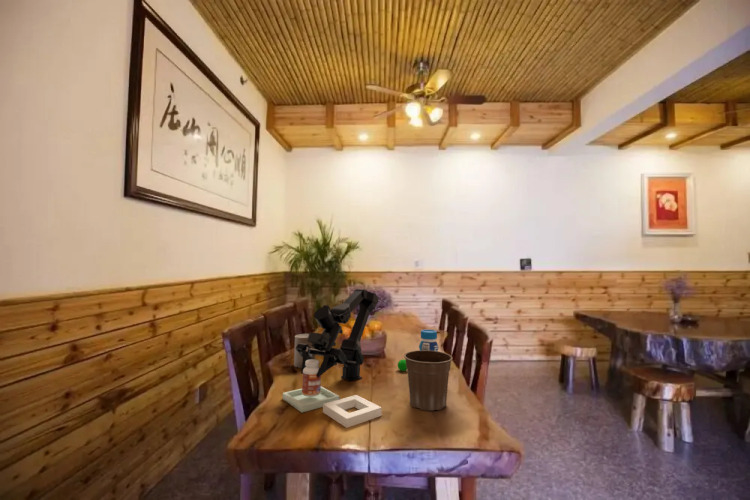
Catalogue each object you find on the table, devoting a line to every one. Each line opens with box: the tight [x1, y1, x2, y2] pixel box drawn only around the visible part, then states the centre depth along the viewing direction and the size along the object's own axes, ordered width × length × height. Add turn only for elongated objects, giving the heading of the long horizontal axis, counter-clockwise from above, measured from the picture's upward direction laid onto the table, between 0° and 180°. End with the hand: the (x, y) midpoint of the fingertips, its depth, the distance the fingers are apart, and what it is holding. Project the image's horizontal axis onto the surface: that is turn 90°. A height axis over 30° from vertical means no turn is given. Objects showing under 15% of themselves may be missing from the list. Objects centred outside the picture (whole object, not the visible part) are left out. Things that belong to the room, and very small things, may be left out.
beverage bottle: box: [418, 329, 439, 351], centre depth 138 cm, size 8×8×20 cm
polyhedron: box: [397, 359, 407, 372], centre depth 149 cm, size 5×5×5 cm
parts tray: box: [282, 385, 340, 414], centre depth 113 cm, size 14×14×2 cm
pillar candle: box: [293, 332, 316, 369], centre depth 154 cm, size 10×10×15 cm
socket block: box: [322, 394, 382, 429], centre depth 103 cm, size 13×13×2 cm
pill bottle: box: [301, 358, 322, 397], centre depth 113 cm, size 6×6×11 cm
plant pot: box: [403, 349, 453, 412], centre depth 112 cm, size 16×16×16 cm
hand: (309, 375), depth 112 cm, fingers closed on pill bottle, 6 cm apart
